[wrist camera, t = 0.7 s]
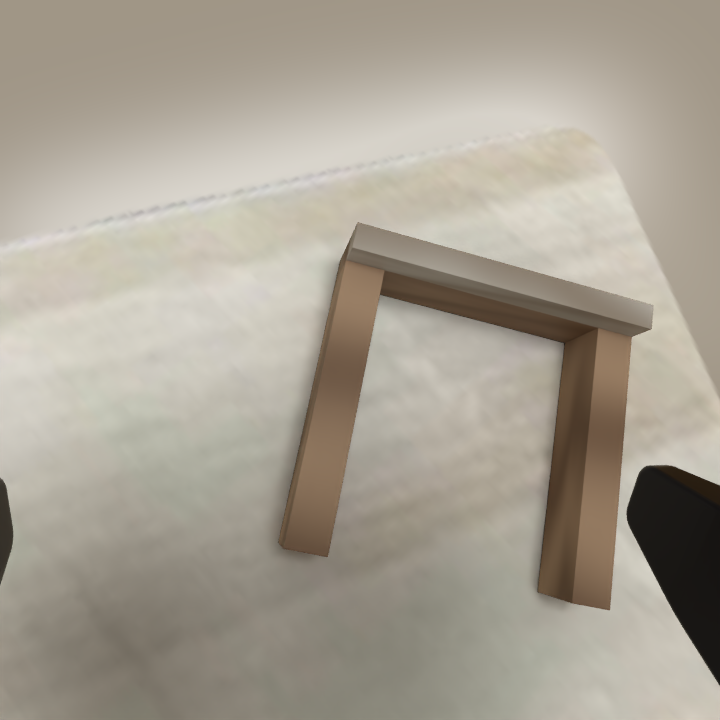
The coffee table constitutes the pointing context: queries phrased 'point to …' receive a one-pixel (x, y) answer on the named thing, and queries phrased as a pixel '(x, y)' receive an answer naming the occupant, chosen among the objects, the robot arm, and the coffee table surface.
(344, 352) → the frame
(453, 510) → the coffee table surface
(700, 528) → the robot arm
